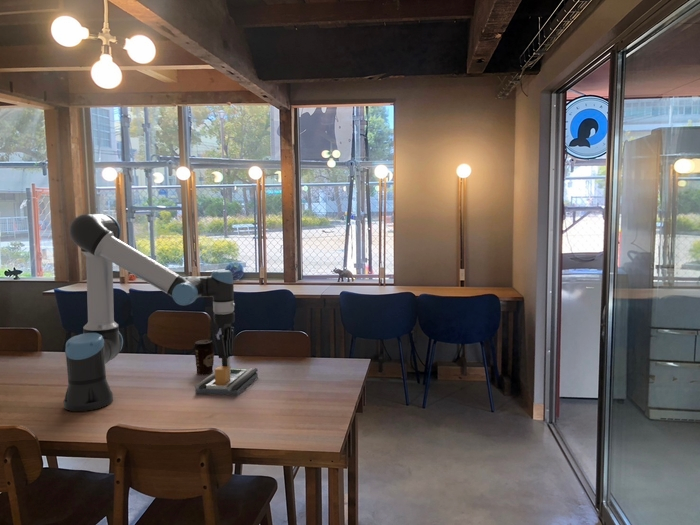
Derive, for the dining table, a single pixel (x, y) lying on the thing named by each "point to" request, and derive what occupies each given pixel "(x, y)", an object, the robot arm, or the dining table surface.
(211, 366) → the coffee cup
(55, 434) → the dining table surface
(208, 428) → the dining table surface
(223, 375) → the tan rectangular block
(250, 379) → the panel
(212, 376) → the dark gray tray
